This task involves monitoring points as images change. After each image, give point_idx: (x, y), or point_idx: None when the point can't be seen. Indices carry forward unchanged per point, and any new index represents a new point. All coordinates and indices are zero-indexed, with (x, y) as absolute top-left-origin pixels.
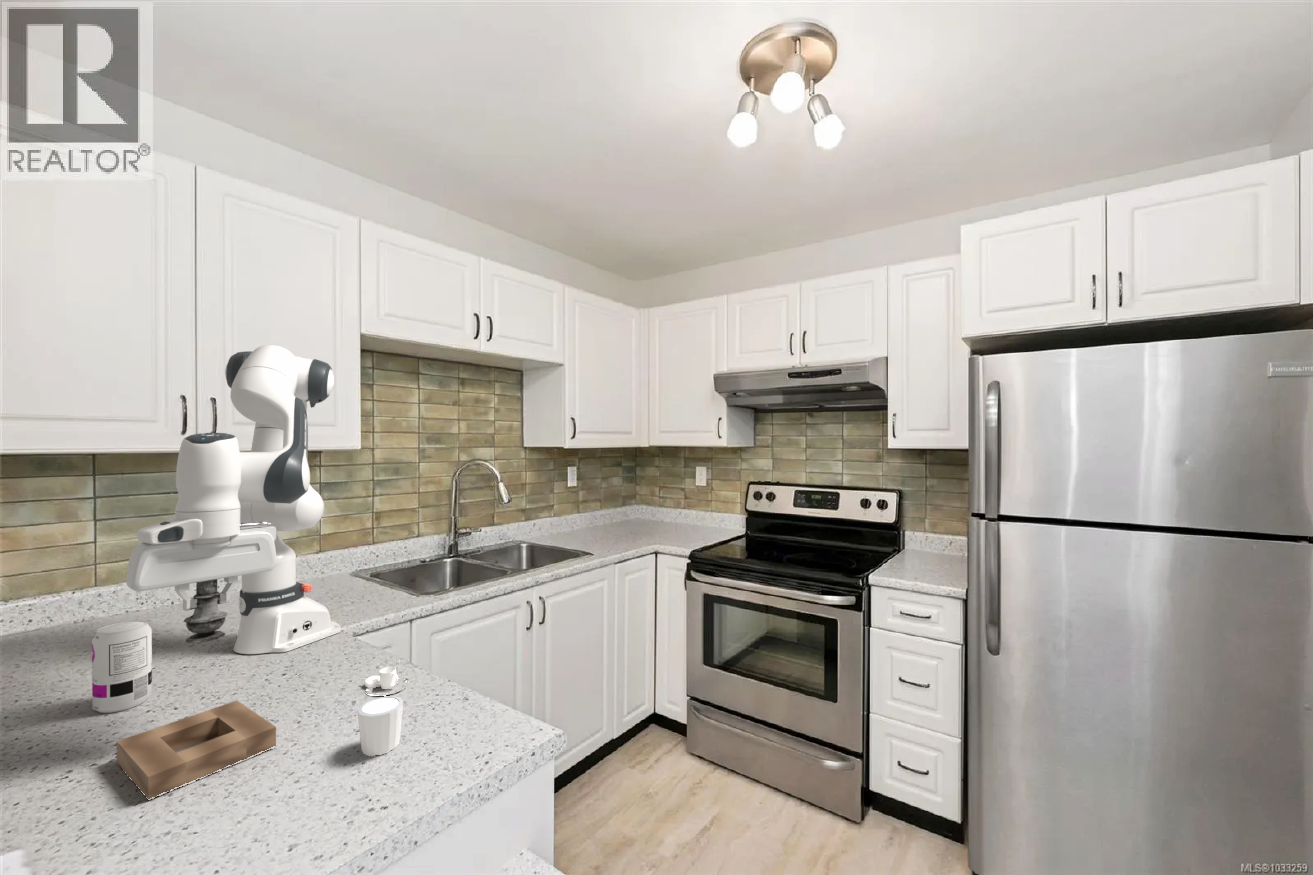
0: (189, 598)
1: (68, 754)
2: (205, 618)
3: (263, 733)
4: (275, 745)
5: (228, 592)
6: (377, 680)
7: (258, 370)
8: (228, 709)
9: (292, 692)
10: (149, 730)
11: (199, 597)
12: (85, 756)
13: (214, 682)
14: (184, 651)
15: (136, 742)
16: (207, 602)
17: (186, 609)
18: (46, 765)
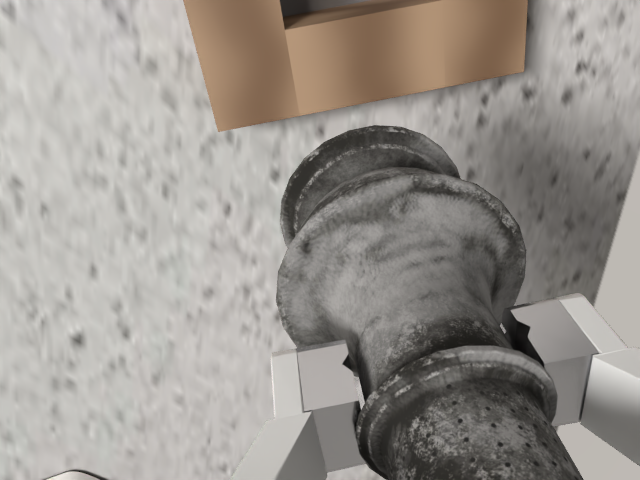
0: (615, 363)
1: (545, 193)
2: (436, 212)
3: None
4: None
5: (287, 419)
6: None
7: None
8: (249, 72)
9: (55, 197)
10: (451, 83)
11: (538, 364)
12: (527, 156)
13: (245, 386)
14: None
15: (495, 15)
16: (454, 321)
17: (580, 294)
18: (584, 167)
